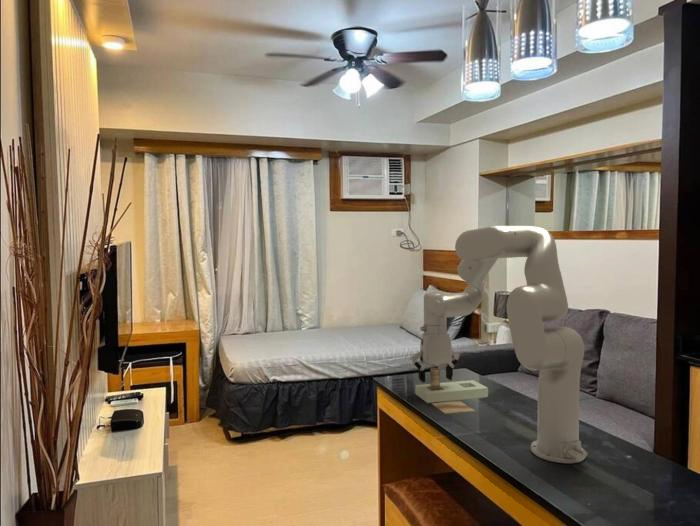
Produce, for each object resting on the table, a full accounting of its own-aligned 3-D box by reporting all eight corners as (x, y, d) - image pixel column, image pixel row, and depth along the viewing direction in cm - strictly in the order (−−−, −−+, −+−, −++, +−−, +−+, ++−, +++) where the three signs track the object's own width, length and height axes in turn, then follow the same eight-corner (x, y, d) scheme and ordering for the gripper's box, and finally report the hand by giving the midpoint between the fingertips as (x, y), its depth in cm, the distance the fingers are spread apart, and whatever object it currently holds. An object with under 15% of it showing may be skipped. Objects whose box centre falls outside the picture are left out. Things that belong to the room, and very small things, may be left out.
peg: (441, 399, 167) (441, 369, 166) (432, 400, 166) (432, 370, 166) (437, 396, 170) (437, 367, 170) (428, 397, 169) (428, 368, 169)
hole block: (488, 398, 168) (488, 387, 167) (427, 404, 162) (427, 393, 162) (473, 389, 177) (473, 380, 177) (415, 395, 172) (415, 385, 171)
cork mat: (475, 412, 154) (475, 410, 154) (445, 415, 152) (445, 413, 152) (459, 402, 164) (459, 400, 164) (431, 405, 161) (431, 403, 161)
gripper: (415, 332, 161) (416, 385, 161) (464, 329, 166) (464, 380, 166) (406, 329, 168) (407, 379, 169) (453, 326, 173) (454, 375, 173)
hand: (435, 380), depth 167 cm, fingers open, 9 cm apart
